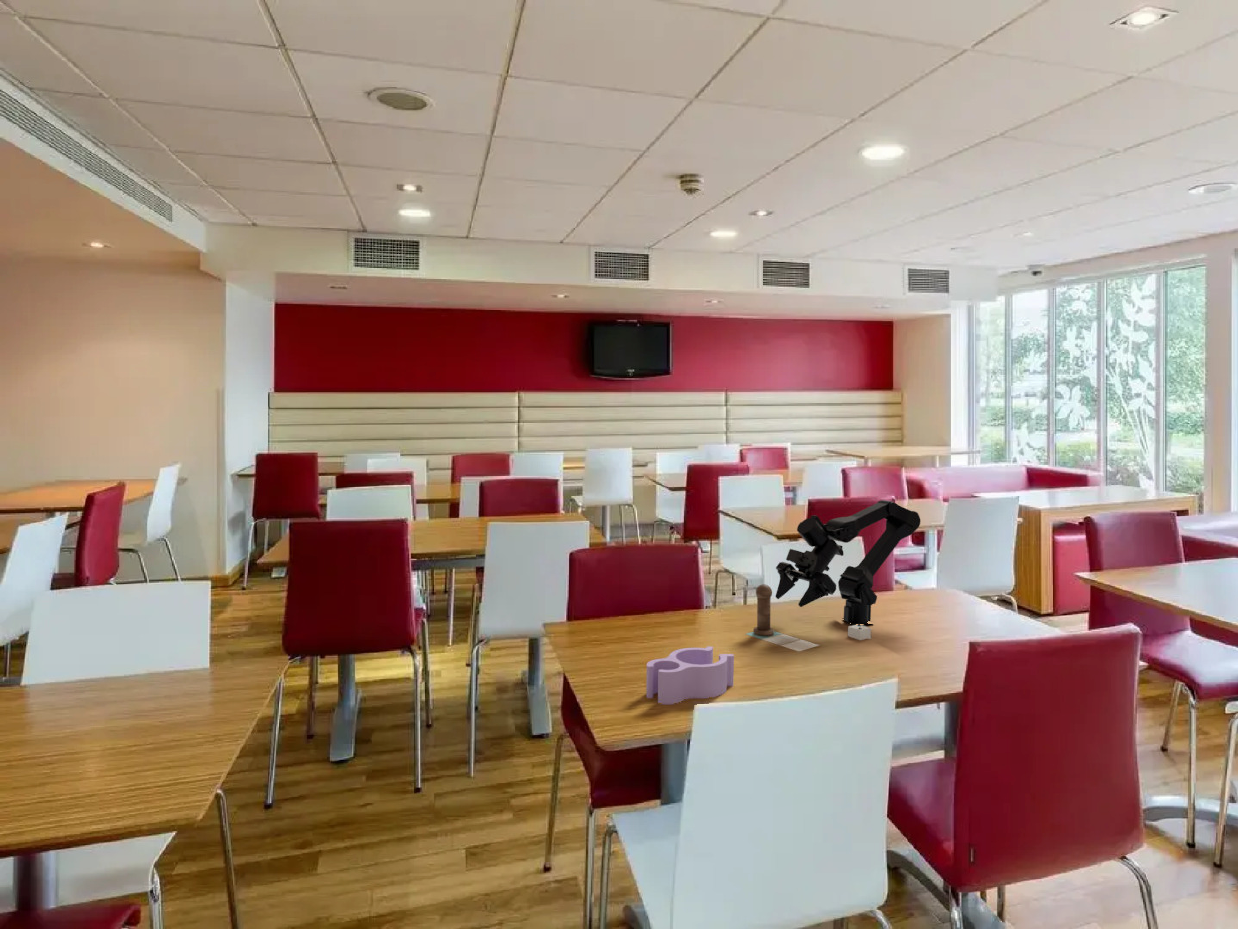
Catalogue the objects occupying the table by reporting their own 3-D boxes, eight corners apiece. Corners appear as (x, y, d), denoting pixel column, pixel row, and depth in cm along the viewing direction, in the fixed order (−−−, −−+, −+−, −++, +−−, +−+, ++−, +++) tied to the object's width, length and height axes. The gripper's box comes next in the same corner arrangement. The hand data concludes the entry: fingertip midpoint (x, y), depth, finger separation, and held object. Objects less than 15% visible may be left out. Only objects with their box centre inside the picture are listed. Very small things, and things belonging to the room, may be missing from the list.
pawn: (773, 631, 198) (773, 582, 197) (774, 636, 193) (774, 587, 192) (753, 630, 199) (753, 582, 198) (754, 636, 194) (754, 586, 193)
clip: (672, 711, 149) (672, 677, 148) (634, 692, 159) (634, 660, 158) (742, 689, 161) (742, 658, 160) (702, 672, 171) (703, 643, 170)
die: (858, 639, 196) (858, 623, 196) (870, 643, 193) (871, 626, 193) (847, 641, 194) (848, 625, 194) (860, 645, 191) (860, 629, 191)
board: (741, 638, 196) (741, 633, 196) (764, 632, 201) (764, 627, 201) (800, 658, 181) (800, 652, 181) (823, 650, 186) (823, 645, 186)
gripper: (781, 533, 208) (749, 576, 204) (829, 544, 192) (795, 591, 188) (802, 558, 213) (771, 600, 208) (851, 571, 196) (818, 617, 192)
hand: (787, 601), depth 199 cm, fingers open, 9 cm apart
